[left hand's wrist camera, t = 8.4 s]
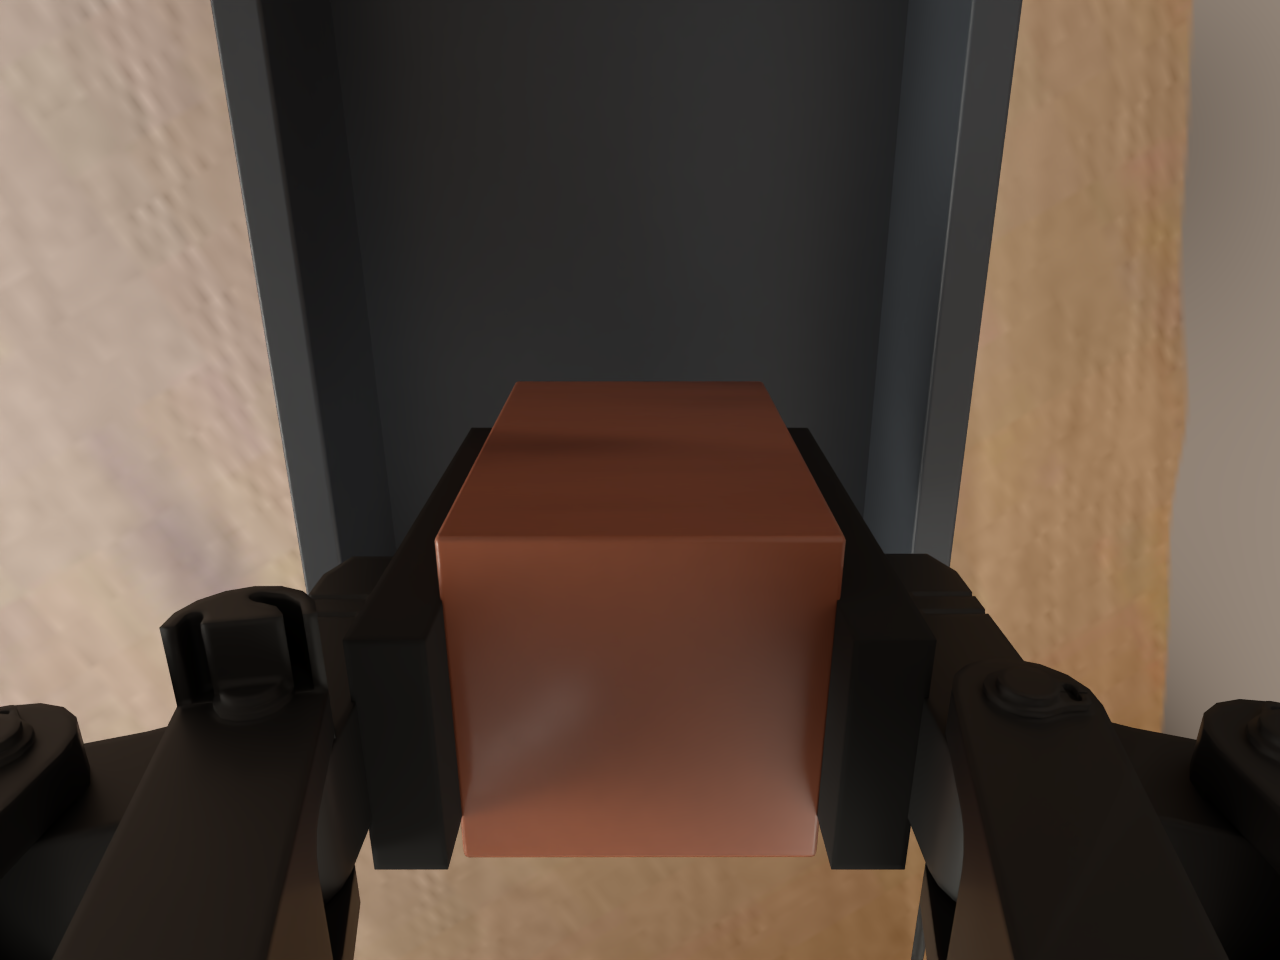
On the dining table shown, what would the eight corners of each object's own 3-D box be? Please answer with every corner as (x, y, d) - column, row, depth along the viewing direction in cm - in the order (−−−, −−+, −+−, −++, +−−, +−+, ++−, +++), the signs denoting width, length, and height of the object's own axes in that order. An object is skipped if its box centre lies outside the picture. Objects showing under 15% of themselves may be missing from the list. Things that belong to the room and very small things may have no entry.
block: (751, 599, 15) (816, 858, 10) (526, 599, 15) (462, 859, 10) (763, 380, 14) (848, 537, 8) (515, 380, 14) (432, 537, 8)
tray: (870, 679, 23) (967, 891, 16) (391, 685, 23) (292, 899, 16) (999, -629, 14) (1320, -1319, 7) (221, -624, 14) (-141, -1309, 7)
